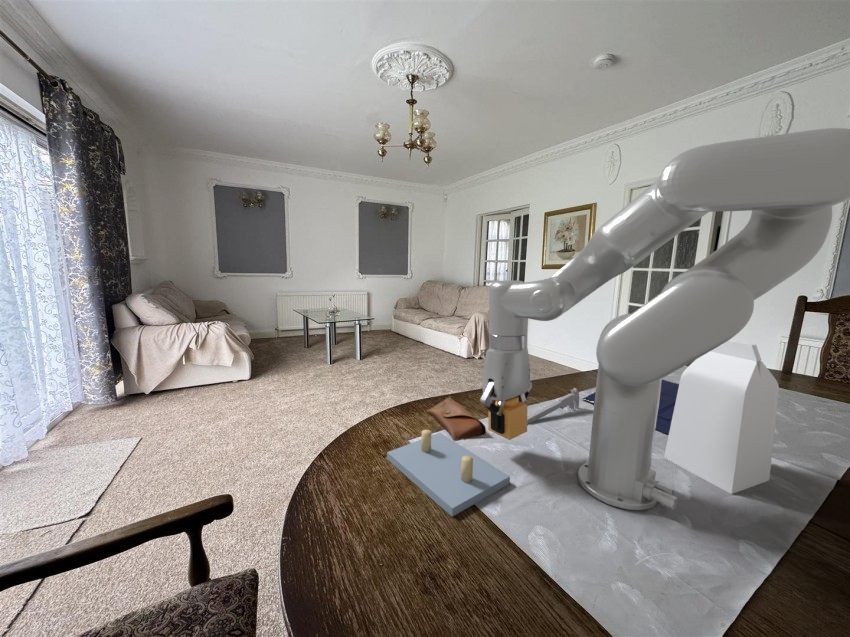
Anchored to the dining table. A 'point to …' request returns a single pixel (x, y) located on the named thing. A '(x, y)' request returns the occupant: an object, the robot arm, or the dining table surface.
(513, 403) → the cube with ball knob
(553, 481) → the dining table surface
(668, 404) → the folded navy cloth
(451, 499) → the board
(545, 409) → the caliper
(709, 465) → the milk
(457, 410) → the sunglasses case
